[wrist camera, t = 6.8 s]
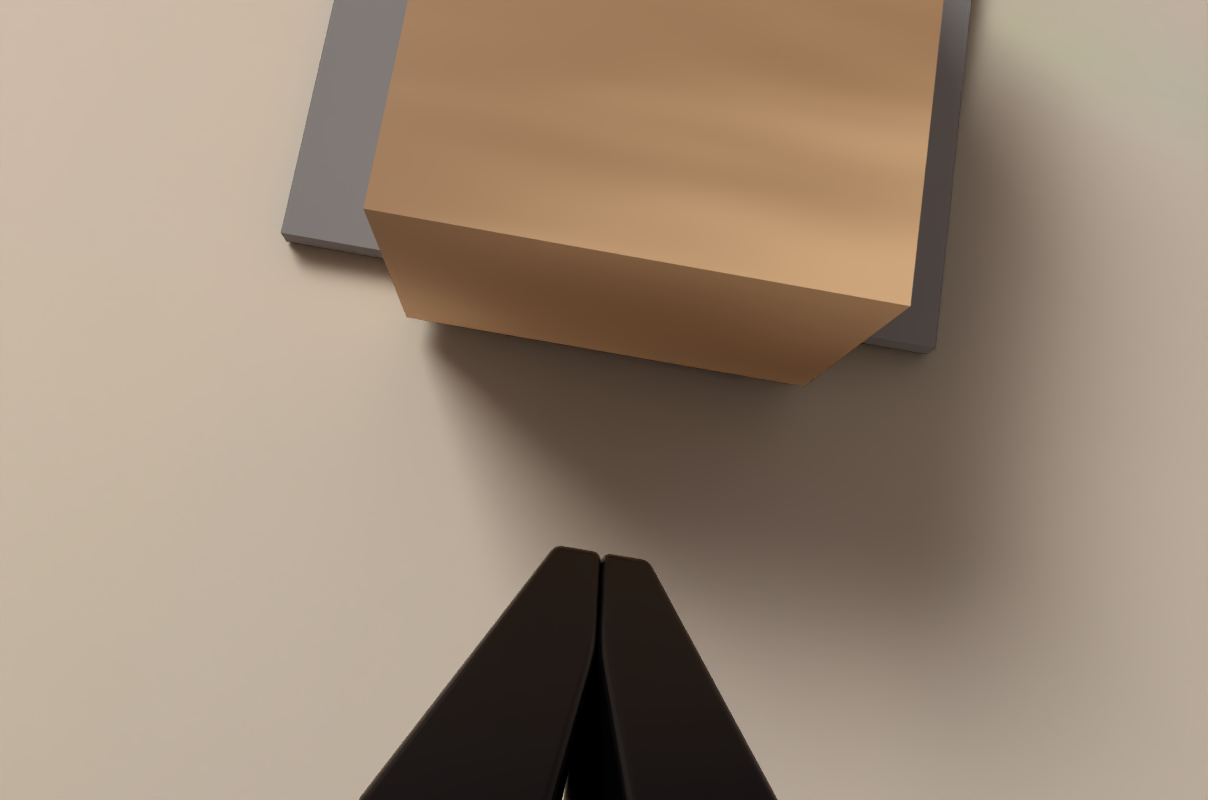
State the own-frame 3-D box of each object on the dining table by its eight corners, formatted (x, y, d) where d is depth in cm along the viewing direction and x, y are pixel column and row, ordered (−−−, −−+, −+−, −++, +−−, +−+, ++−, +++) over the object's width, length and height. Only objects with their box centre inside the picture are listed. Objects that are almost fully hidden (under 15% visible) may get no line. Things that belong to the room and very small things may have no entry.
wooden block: (910, 306, 12) (977, -312, 13) (362, 208, 11) (496, -411, 13) (804, 385, 16) (863, -85, 18) (406, 317, 16) (501, -155, 17)
